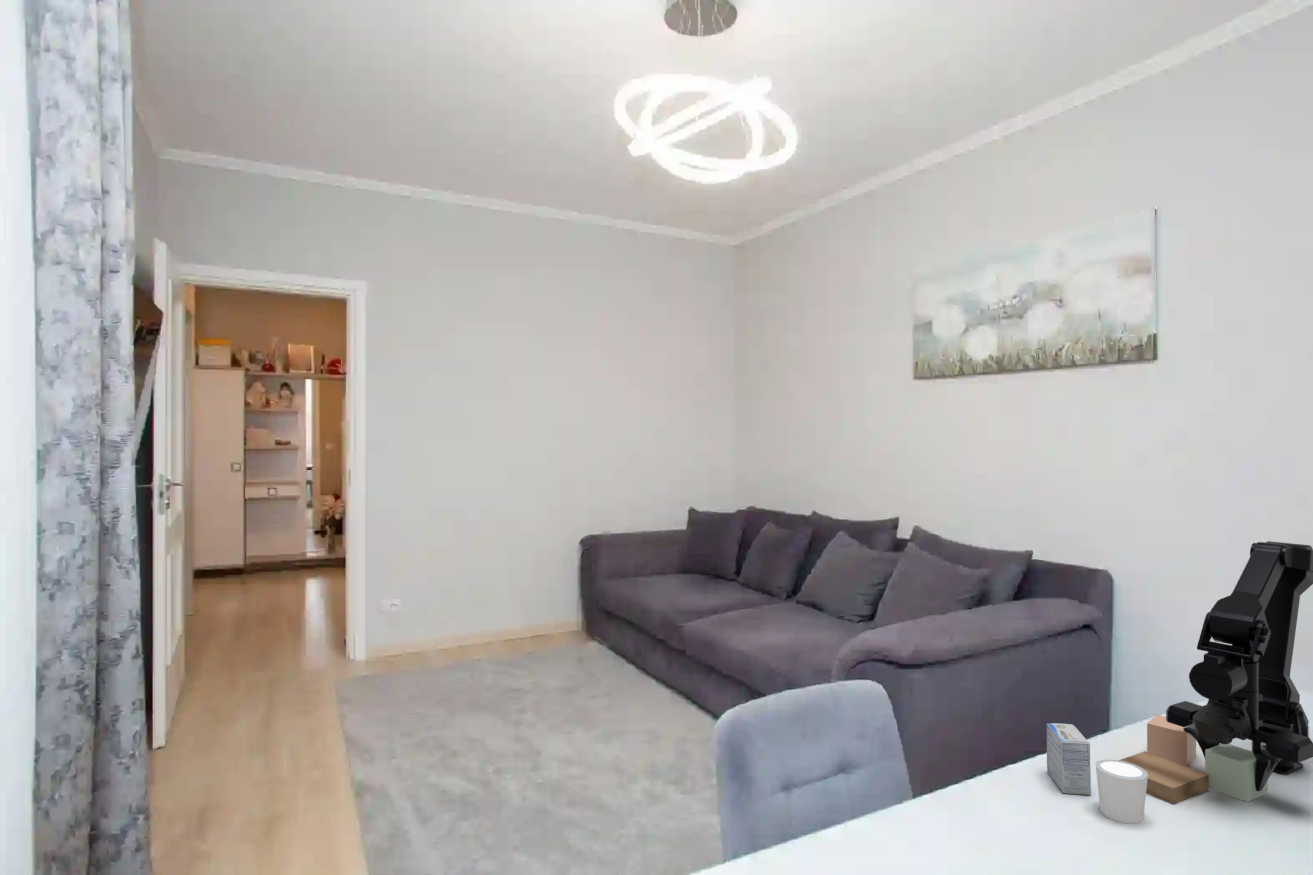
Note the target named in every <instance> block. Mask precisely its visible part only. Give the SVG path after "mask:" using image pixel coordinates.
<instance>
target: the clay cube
mask: <svg viewBox="0 0 1313 875" xmlns="http://www.w3.org/2000/svg"><path fill="white" fill-rule="evenodd" d="M1146 724H1147V725H1146V737H1147V738H1146V749H1147V750H1146V752H1148V753H1151V754H1154V755H1157V756H1159V757H1162V758H1165V759H1167V760H1170V761H1173V762H1176V763H1178V764H1181V765H1184V766H1187V767H1189V765H1191V763H1193V761H1194V760H1195V759H1196V758H1197V740H1196V739H1195V738H1194V737H1193V736H1191V735H1190V734H1189V733H1186V732H1185V731H1184V729H1183V728H1186V727H1181V726H1178V725H1175V724H1172V723H1169V722H1167V721H1166V715H1160V714H1156V715H1155V716H1154V717H1153V718H1151V719H1150V720H1149V721H1148V722H1146Z"/></svg>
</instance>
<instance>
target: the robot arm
mask: <svg viewBox="0 0 1313 875" xmlns="http://www.w3.org/2000/svg"><path fill="white" fill-rule="evenodd" d="M1311 586H1313V546H1312V545H1309V544H1302V543H1301V544H1300V543H1290V542H1280V541H1279V542H1278V541H1271V540H1270V541H1269V540H1268V541H1266V542H1265V541H1264V542H1263V541H1258V542H1253V543H1252V544H1251V545H1250V550H1249V558H1248V560H1247V562H1246V564H1245V565H1244V569H1242V572H1241V574H1240V576H1239V579H1238V580H1237V582H1236V585H1235V586H1234V588H1233V590H1232V592H1231V593H1230V595H1227V596H1225V597H1222V598H1220V599H1218V600H1217V601H1216V602H1215V604H1214V605H1213V606H1212V607H1211V609H1210V611H1208V612H1207V613H1206V614H1205V617H1204V621H1203V624H1202V628H1201V631H1200V635H1199V639H1198V641H1197V645H1196V649H1197V650H1199V651H1203V652H1206V653H1204V654H1203V661H1200V662H1198V663H1196V664H1194V665H1193V666H1192V667H1191V669H1190V671H1189V673H1188V678H1189V683H1190V686H1191V687H1192V688H1193V690H1194V691H1195V692H1197V694H1199V695H1200V696H1201V697H1203V698H1206V699H1208V700H1207V703H1206V704H1204V705H1200V704H1196V703H1193V702H1191V701H1187V700H1186V701H1185V700H1183V701H1180V702H1176V703H1173V704H1171V705H1169V706H1168V707H1167V709H1166V710H1165V717H1166V721H1167V722H1169V723H1172V724H1175V725H1178V726H1181V727H1186V728H1183V729H1184V731H1185V732H1186V733H1189V734H1190V735H1191V736H1193V737H1194V738H1195V739H1196V743H1197V744H1198V746H1199V748H1200V750H1201V752H1202V754H1203V758H1205V750H1206V749H1209V748H1212V747H1214V746H1217V745H1220V744H1232V742H1233V740H1234V739H1238V740H1241V741H1245V740H1249V741H1251V751H1252V752H1253V754H1254V756H1255V758H1256V775H1255V786H1256V791H1261V790H1262V789H1263V787H1264V786H1265V784H1266V782H1267V783H1268V780H1269V779H1270V777H1271V775H1272V773H1273V772H1276V773H1280V774H1283V775H1288V774H1291V773H1293V772H1295V771H1297V770H1300V769H1302V768H1304V763H1302V762H1305V761H1306V760H1308V759H1312V758H1313V741H1312V739H1311V738H1310V736H1309V734H1310V733H1309V732H1310V731H1309V730H1310V727H1309V719H1308V717H1307V715H1306V713H1305V710H1304V708H1303V706H1302V704H1301V703H1300V699H1301V698H1300V697H1301V695H1300V693H1299V691H1298V689H1297V688H1296V686H1295V684H1294V682H1293V680H1292V678H1291V672H1292V669H1291V668H1292V662H1293V654H1294V646H1295V638H1296V630H1297V622H1298V615H1299V608H1300V601H1301V596H1302V595H1303V594H1304V593H1305V592H1306V591H1308V590H1309V588H1310V587H1311ZM1211 640H1213V641H1211Z"/></svg>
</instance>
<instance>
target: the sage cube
mask: <svg viewBox="0 0 1313 875" xmlns="http://www.w3.org/2000/svg"><path fill="white" fill-rule="evenodd" d="M1204 760H1205V761H1204V763H1205V764H1204V766H1205V768H1204V770H1205V771H1204V773H1206V774H1208V775H1209V789H1212V790H1215V791H1217V792H1220V793H1223V794H1225V795H1228V796H1230V797H1233V798H1236V799H1239V800H1240V801H1241V800H1242V801H1244V802H1246V803H1249V802H1251V801H1253V800H1256V799H1258V798H1261V797H1263V796H1265V795H1267V794H1268V781H1267V782H1266V784H1265V786H1264V787H1263V789H1262V790H1261V791H1256V786H1255V775H1256V758H1255V756H1254V754H1253V752H1252V750H1249V749H1246V748H1243V747H1239V746H1237V745H1234V744H1232V743H1230V744H1220V745H1217V746H1214V747H1212V748H1209V749H1206V750H1205V757H1204Z"/></svg>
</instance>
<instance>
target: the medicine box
mask: <svg viewBox="0 0 1313 875" xmlns="http://www.w3.org/2000/svg"><path fill="white" fill-rule="evenodd" d="M1046 769H1047V770H1046V771H1047V773H1048V775H1049V776H1050V777H1051V779H1052V780H1053V782H1054V783H1055V784H1056V786H1057V787H1058V788H1059V789H1060V791H1061V793H1062V794H1069V795H1080V796H1081V795H1083V796H1084V795H1085V796H1090V795H1091V794H1092V788H1091V787H1092V785H1091V782H1092V781H1091V779H1092V776H1091V743H1090V742H1089V740H1087V738H1086V737H1084V735H1083V734H1082V733H1081V732H1080V731H1079V729H1078V728H1077V727H1076V726H1075V725H1074V724H1070V723H1059V722H1058V723H1057V722H1053V723H1052V722H1051V723H1049V722H1047V723H1046Z"/></svg>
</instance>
